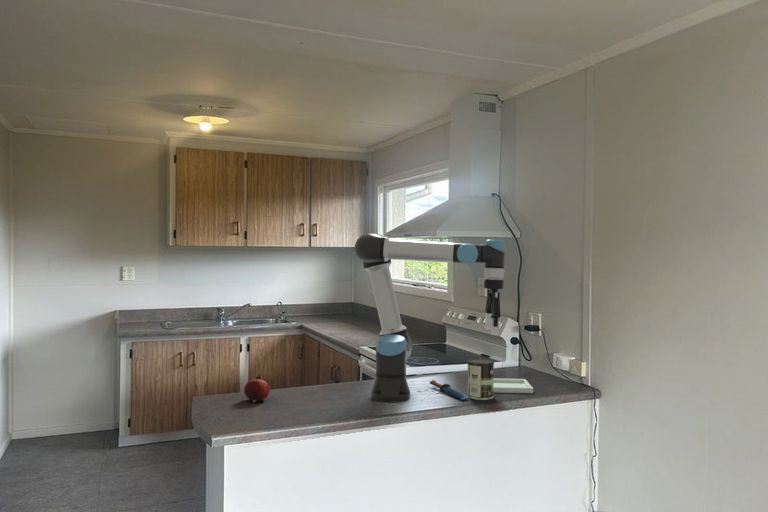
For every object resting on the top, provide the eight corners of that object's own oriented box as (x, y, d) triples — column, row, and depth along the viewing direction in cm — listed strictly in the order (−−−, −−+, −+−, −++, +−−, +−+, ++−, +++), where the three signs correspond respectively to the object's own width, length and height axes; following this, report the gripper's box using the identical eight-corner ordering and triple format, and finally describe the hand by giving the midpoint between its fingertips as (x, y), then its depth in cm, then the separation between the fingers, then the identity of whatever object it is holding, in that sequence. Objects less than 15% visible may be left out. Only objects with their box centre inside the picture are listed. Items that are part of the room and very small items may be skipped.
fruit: (249, 405, 210) (249, 378, 210) (240, 399, 218) (241, 373, 218) (273, 402, 215) (273, 375, 215) (264, 396, 223) (264, 370, 223)
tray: (493, 392, 233) (493, 387, 232) (487, 382, 248) (487, 378, 248) (533, 393, 232) (533, 388, 232) (525, 383, 248) (525, 379, 248)
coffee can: (493, 394, 230) (494, 358, 230) (493, 401, 220) (493, 364, 219) (467, 392, 232) (468, 357, 232) (466, 399, 222) (466, 362, 222)
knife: (471, 392, 221) (460, 396, 218) (472, 400, 221) (461, 404, 219) (437, 376, 242) (427, 379, 240) (438, 383, 242) (427, 386, 240)
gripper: (509, 281, 216) (507, 337, 216) (497, 277, 241) (495, 327, 241) (489, 280, 216) (487, 336, 216) (479, 276, 241) (477, 327, 241)
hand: (491, 332), depth 229 cm, fingers open, 13 cm apart
